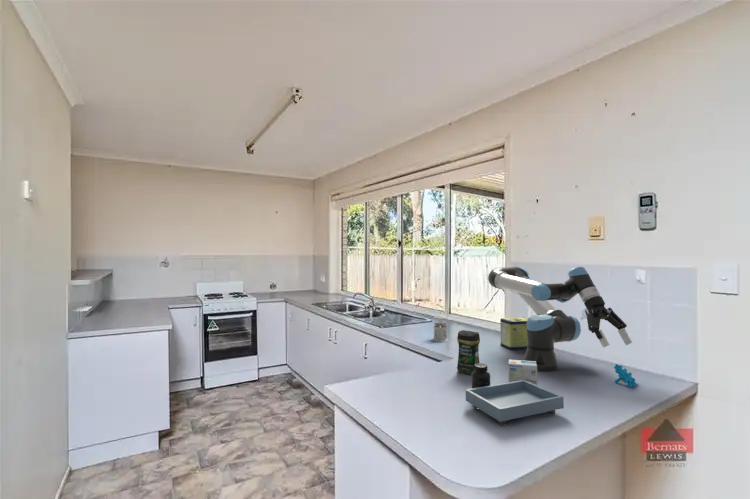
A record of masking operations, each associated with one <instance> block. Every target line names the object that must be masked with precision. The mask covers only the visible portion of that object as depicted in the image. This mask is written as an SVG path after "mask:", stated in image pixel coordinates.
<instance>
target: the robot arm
mask: <svg viewBox="0 0 750 499" xmlns="http://www.w3.org/2000/svg"><path fill="white" fill-rule="evenodd" d="M567 274H568V277H569V278H568V279H567V280H566V281H564V282H561V283H558V282H557V283H544V282H540V281H536V280H531V279H530V276H529V275H530V274H529V272H528V270H526V269H525V268H523V267H522V266H521V267H520V266H511V267H510V266H508V267H507V266H506V267H505V266H504V267H495V268H493V269H491V271H490V272H489V274H488V277H487V280H488V283H489V285H491V287H493V288H496V289H499V290H504V289H506V290H509V291H511V292H512V294H515V295H518V296H519V297H520V298H521V299H522V300H523V301H524V303H526V305H527V306H529V308H530V309H531V311H533V313H535V314H536V315H531V316H530V317H528V318H527V319H528V320H527V349H526V350H525V351H526V352H525V354H524V358H523V361H536V364H537V371H540V372H541V371H542V372H552V371H553V372H555V371H557V370H558V369H559V362H558V360H557V357H556V353H555V344H556V343H563V342H568V343H569V342H572V341H576V340H577V339H578V338H579V337H580V335H581V332H582V329H581V327H582V326H581V322H580V321H579V320H578V318H577V317H575V316H572V315H567V314H566V313H565V312H564V311H563V310H561V309H556V308H555V307H554V306H553V305H552V304H551V303H550V302H549V301H557V302H560V303H566V302H568V301H570V300H572V299H573V298H574V297H576V296H577V295H579V297H580V299H581V300H582V302H583V303H584V304H583V305H584V306H585V308H586V310H584V313H585V315H586V320H587V321H586V322H587V327H588V328H587V329H588V331H589V332H591V333H592V334H594V335H595V336H596V338H597V339H598V341H599V342H600V344H601V346H602V347H603V348H607V347H608V346H610V343H609V341H608V339H607V337H606V335H605V333H604V332H603V330H602V329H600V325H601V320H604V321H607V322H608V323H610V324H611V325H612V326H613V327H615V328H616V329H617V332H618V334H619V336H620V337H621V339H622V342H623V343H624V344H625V346H628V345H630V344H632V343H633V341H632V339H631V337H630V336H629V334H628V332H627V331H626V328H627V323H625V322H624V320H622V318H621V317H619V316H618V314H616V313H615V312H614V310H613V309H612V308H611V306H610V307H607V308H606V306H605V305H606V302H605V300H604V299H603V297H602V296H601V294H600V292H599V291H598V288H597V287H596V285H595V284H594V282H593V280H592V278H591V277H590V274H589V272H588V271H587V270H586V268H585V267H584V266H576V267H573V268H571V269H570V270H568V273H567Z"/></svg>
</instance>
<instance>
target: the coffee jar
mask: <svg viewBox="0 0 750 499" xmlns="http://www.w3.org/2000/svg"><path fill="white" fill-rule="evenodd" d="M456 339H457V344H458V357H457V367H456V369H457V371H458V372H459V373H461V374H465V375H471V374H472V372H473V371H475V370H474V364H476V363H480V355H479V352H480V351H479V345H480V342H481V338H480V333H479V332H478V331H471V330H464V329H463V330H459V331H458V333H457V337H456Z"/></svg>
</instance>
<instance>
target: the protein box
mask: <svg viewBox="0 0 750 499" xmlns="http://www.w3.org/2000/svg"><path fill="white" fill-rule="evenodd" d="M527 320H528V318H527V317H523V316H522V317H509V318H508V317H507V318H500V320H499V321H500V324H499V326H500V346H501V347H503V348H506V349H508V350H510V351H512V350H514V351H515V350H525V349H526V350H527Z"/></svg>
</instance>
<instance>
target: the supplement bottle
mask: <svg viewBox="0 0 750 499" xmlns="http://www.w3.org/2000/svg"><path fill="white" fill-rule="evenodd" d="M474 370H475V371H473V372H472V374H471V376H470V378H471V389H473V388H479V387H485V386H491V374H490V373H489V372H488V370H489V369H488V365H487V364H486V363H483V362H482V363H481V362H479V363H476V364H474Z"/></svg>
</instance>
